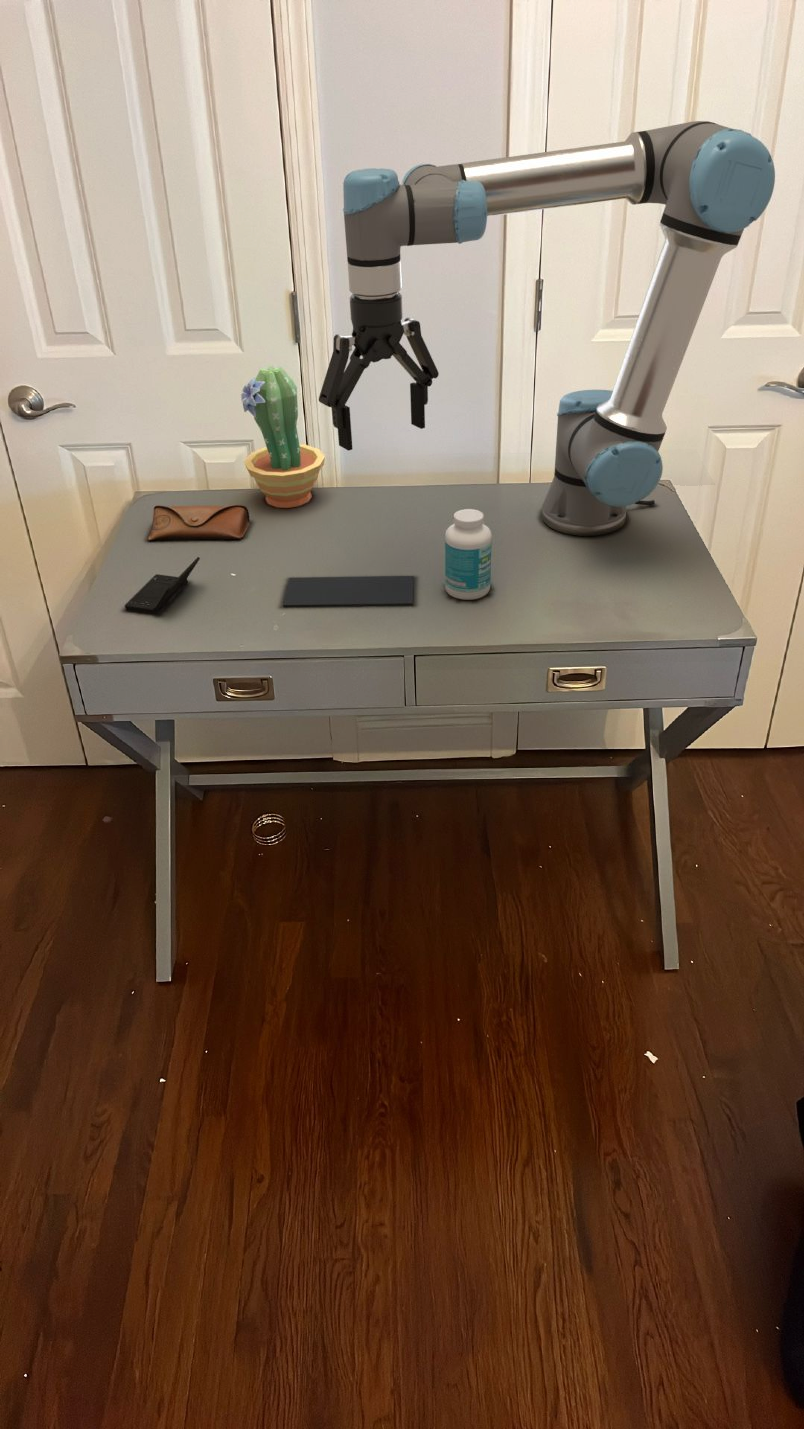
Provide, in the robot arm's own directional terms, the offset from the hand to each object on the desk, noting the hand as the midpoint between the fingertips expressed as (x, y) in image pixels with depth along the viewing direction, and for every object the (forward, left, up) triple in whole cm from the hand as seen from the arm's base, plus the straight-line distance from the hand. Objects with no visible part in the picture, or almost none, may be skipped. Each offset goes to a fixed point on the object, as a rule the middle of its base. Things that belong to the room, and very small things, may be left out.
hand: (382, 436), depth 155 cm
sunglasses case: (+36, -17, -24) cm, 46 cm away
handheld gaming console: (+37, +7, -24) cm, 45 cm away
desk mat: (+6, +6, -24) cm, 26 cm away
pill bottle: (-13, +6, -24) cm, 28 cm away
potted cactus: (+21, -31, -24) cm, 44 cm away
